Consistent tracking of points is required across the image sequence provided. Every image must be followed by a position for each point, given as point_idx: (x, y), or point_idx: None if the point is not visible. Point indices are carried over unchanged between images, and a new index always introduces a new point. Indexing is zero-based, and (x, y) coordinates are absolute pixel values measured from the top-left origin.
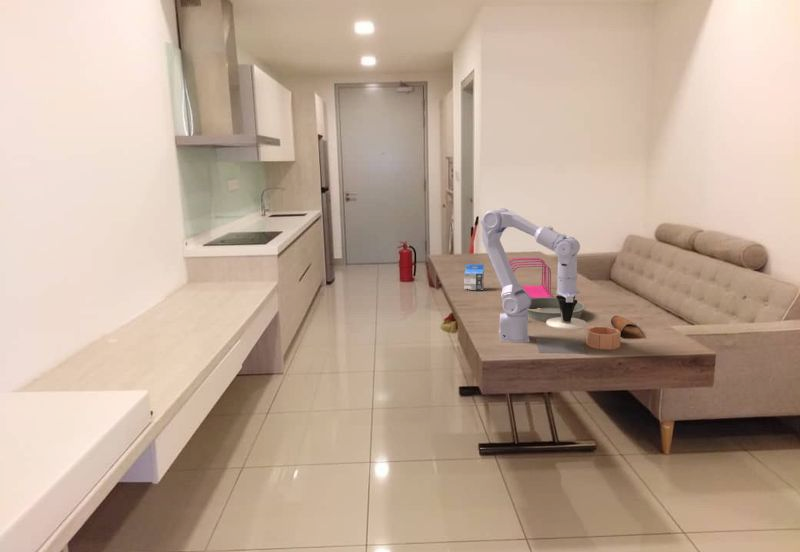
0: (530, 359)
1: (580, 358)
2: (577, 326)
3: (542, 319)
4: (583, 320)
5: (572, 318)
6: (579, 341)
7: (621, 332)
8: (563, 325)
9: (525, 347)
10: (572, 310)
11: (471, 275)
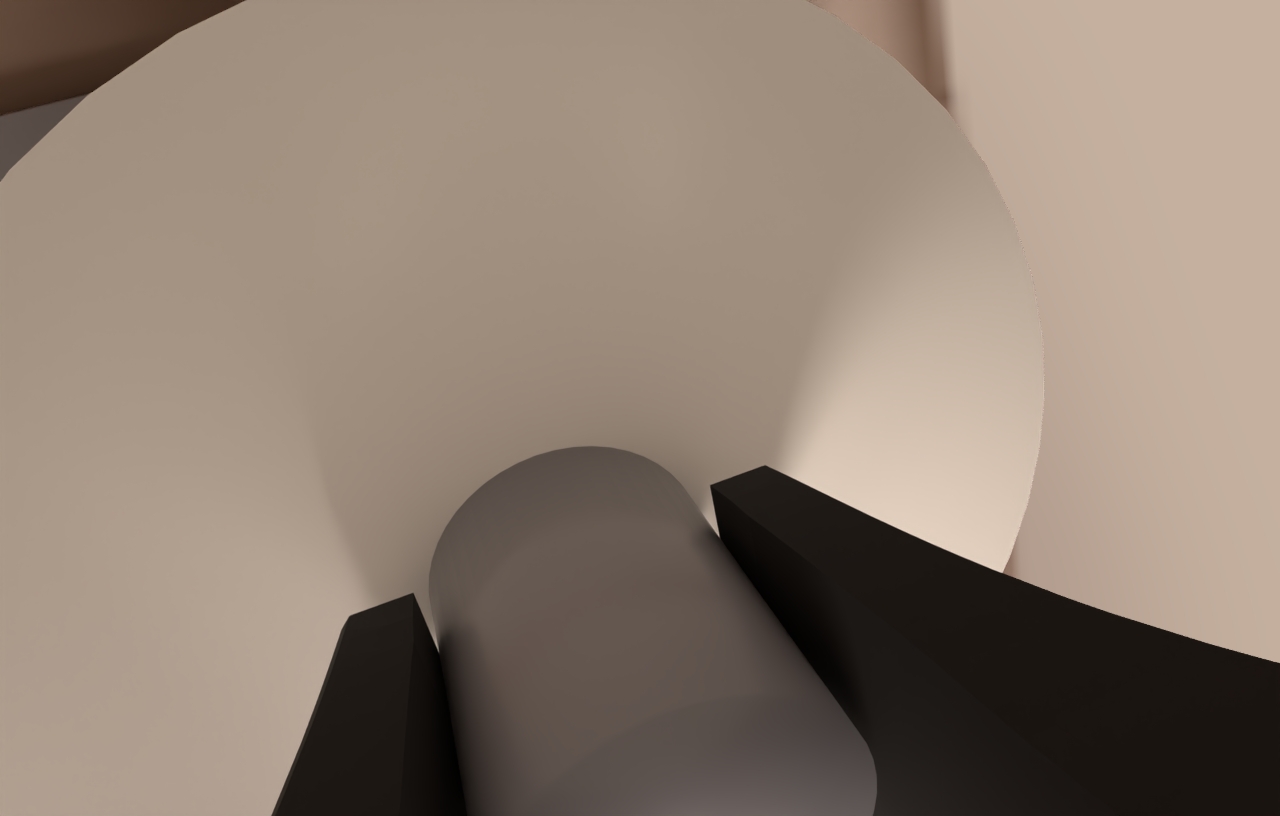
0: (1007, 565)
1: (927, 20)
2: (976, 197)
3: None
4: (131, 81)
5: (9, 523)
6: (40, 123)
7: None
8: (911, 534)
9: None
10: (1138, 642)
11: None
